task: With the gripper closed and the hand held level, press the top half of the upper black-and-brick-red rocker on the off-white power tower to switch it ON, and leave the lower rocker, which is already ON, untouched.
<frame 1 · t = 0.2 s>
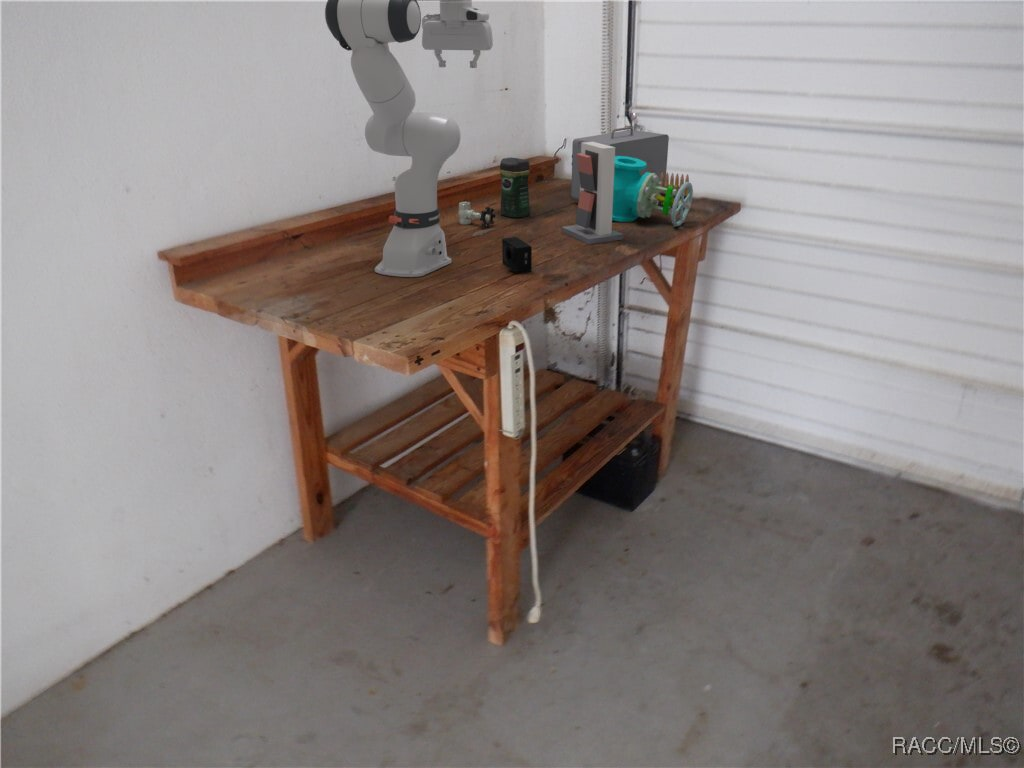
hand: (457, 67, 230), 48 cm above the table, tool pointing down, fingers open, 8 cm apart
lower rocker: (584, 209, 242), point 8 cm above the table, hinge at -10.0°
digital camera: (514, 268, 218), on the table
power tower: (589, 236, 246), on the table
coffee jar: (515, 215, 271), on the table
valve 2: (474, 225, 260), on the table
vintage electronic device: (616, 200, 290), on the table
upper rocker: (585, 172, 237), point 19 cm above the table, hinge at 10.0°
valve: (643, 222, 262), on the table
ammunition clip: (672, 209, 278), on the table
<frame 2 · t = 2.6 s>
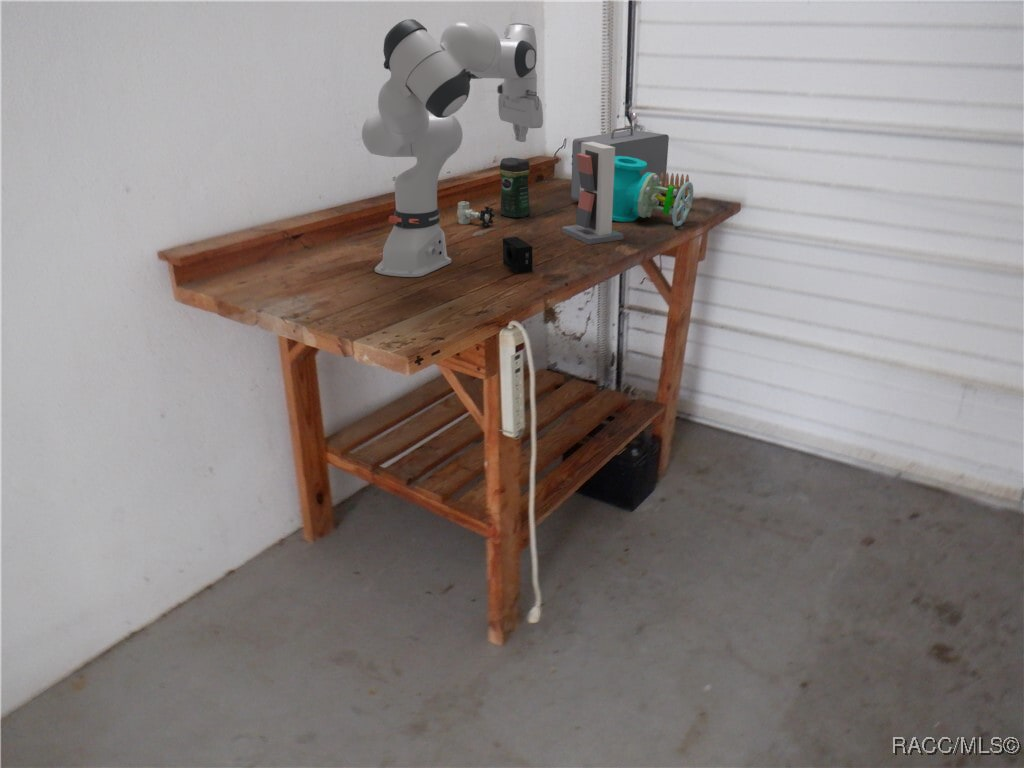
hand: (520, 141, 227), 29 cm above the table, tool pointing down, fingers closed
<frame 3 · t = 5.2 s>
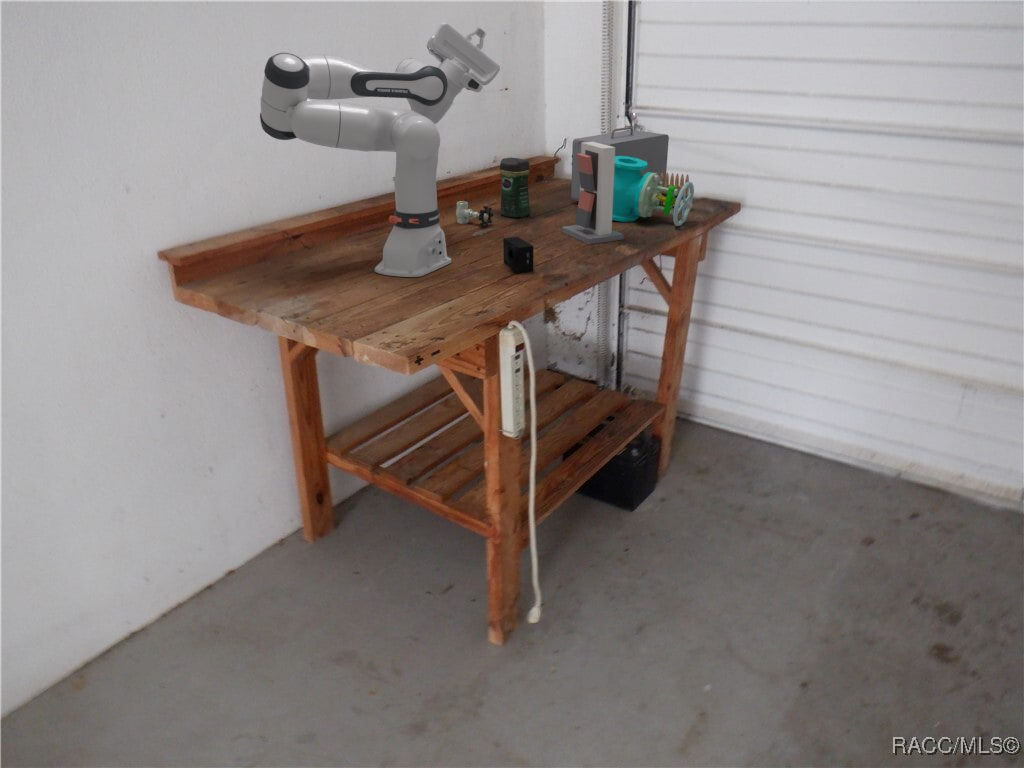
hand: (482, 30, 228), 57 cm above the table, tool pointing upward, fingers closed
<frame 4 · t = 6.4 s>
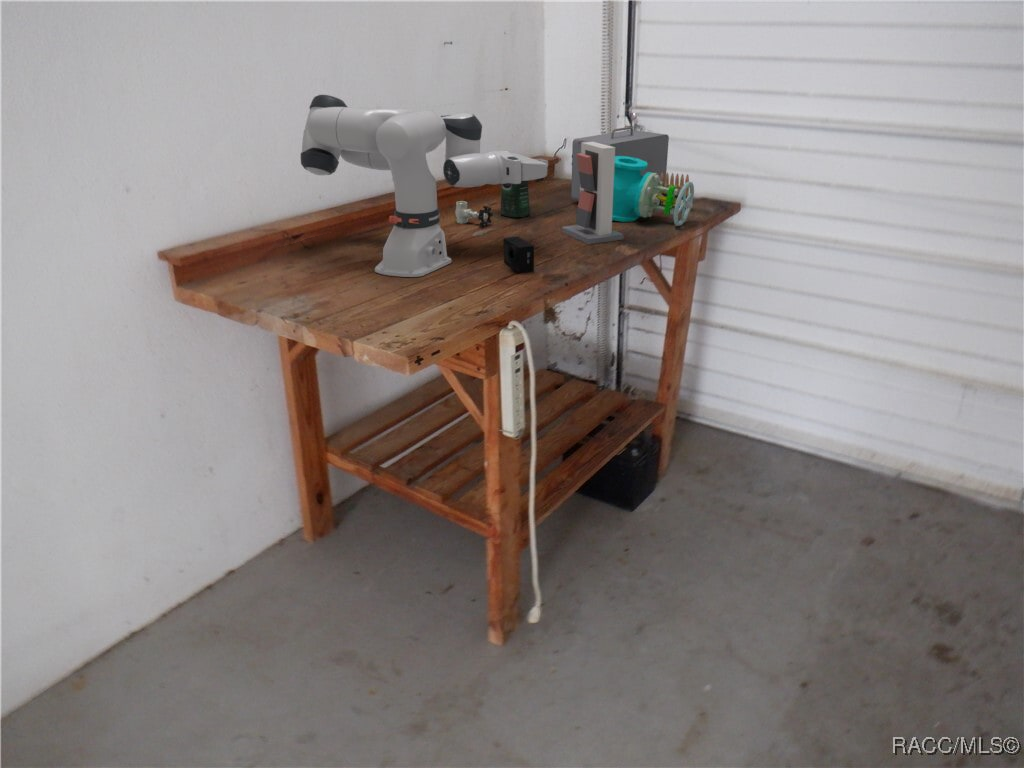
hand: (545, 162, 231), 23 cm above the table, tool horizontal, fingers closed
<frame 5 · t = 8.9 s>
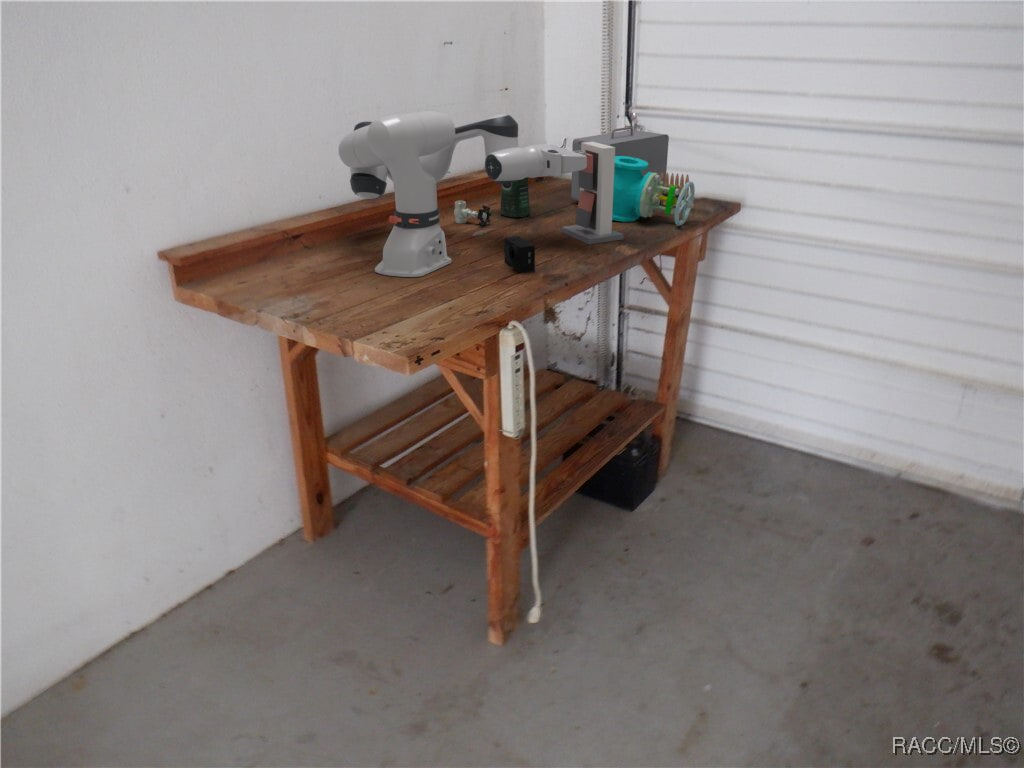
hand: (583, 154, 235), 24 cm above the table, tool horizontal, fingers closed, pressing on upper rocker
upper rocker: (585, 171, 237), point 19 cm above the table, hinge at 1.1°, touching gripper
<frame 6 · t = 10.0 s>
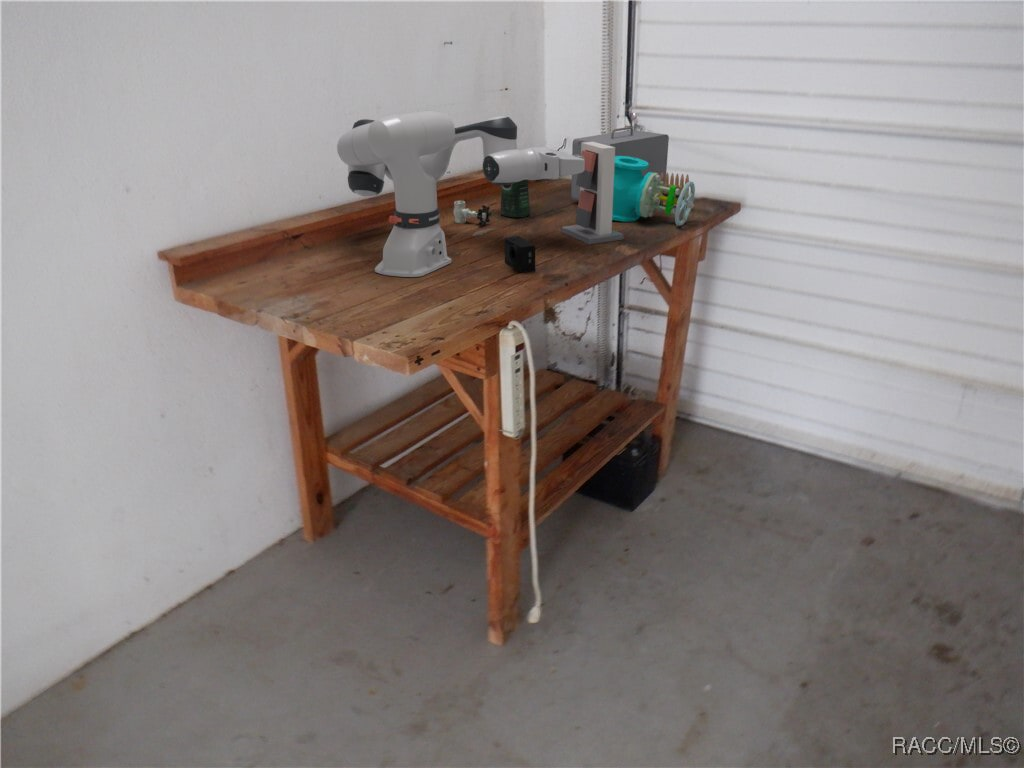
hand: (582, 158, 235), 23 cm above the table, tool horizontal, fingers closed
upper rocker: (585, 169, 237), point 20 cm above the table, hinge at -10.7°
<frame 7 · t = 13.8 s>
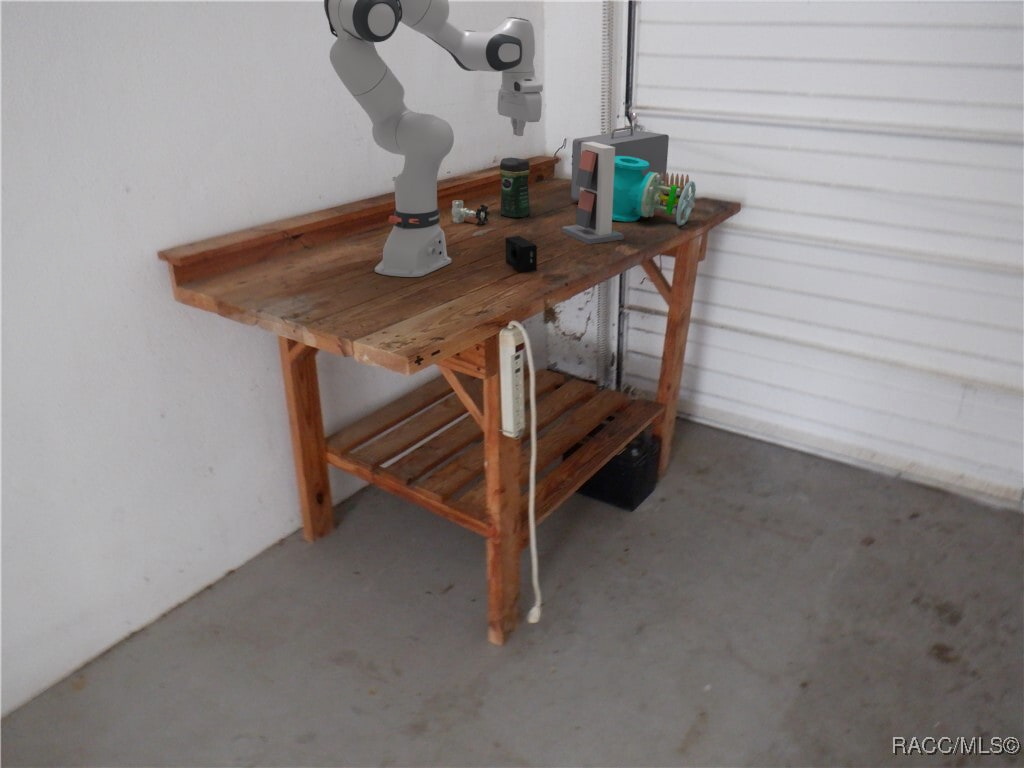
hand: (518, 135, 227), 31 cm above the table, tool pointing down, fingers closed
upper rocker: (585, 169, 237), point 20 cm above the table, hinge at -11.5°
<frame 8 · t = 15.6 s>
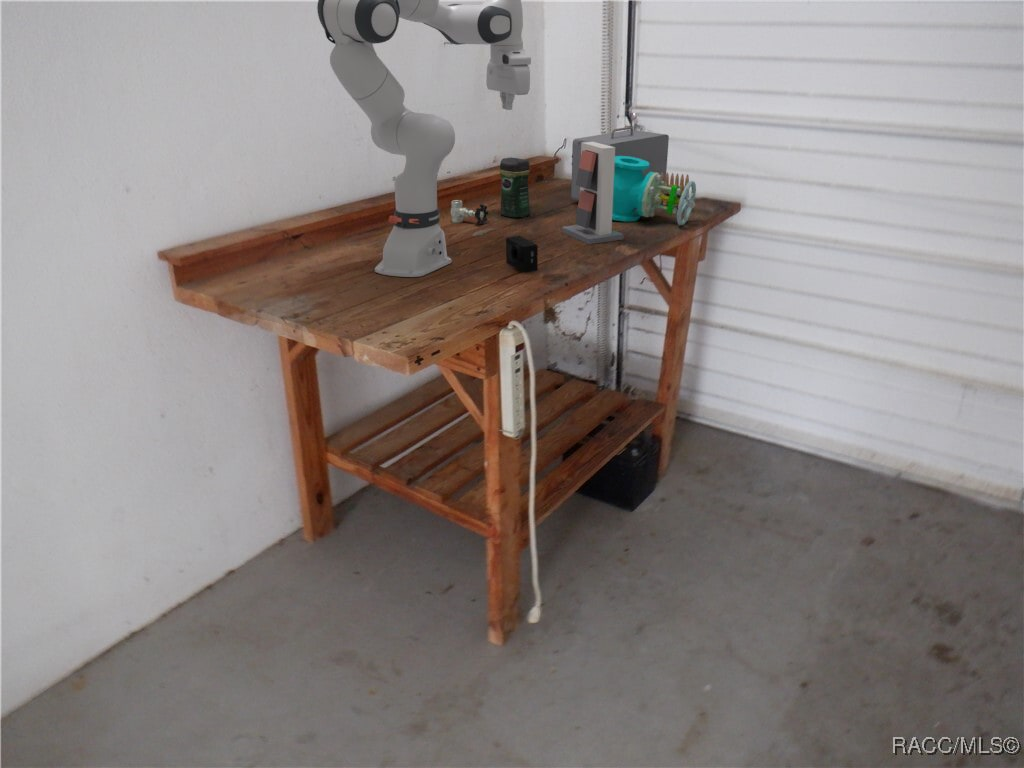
hand: (507, 109, 228), 37 cm above the table, tool pointing down, fingers closed
at the end: upper rocker at -12° (first picture: +10°); lower rocker at -10° (first picture: -10°) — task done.
